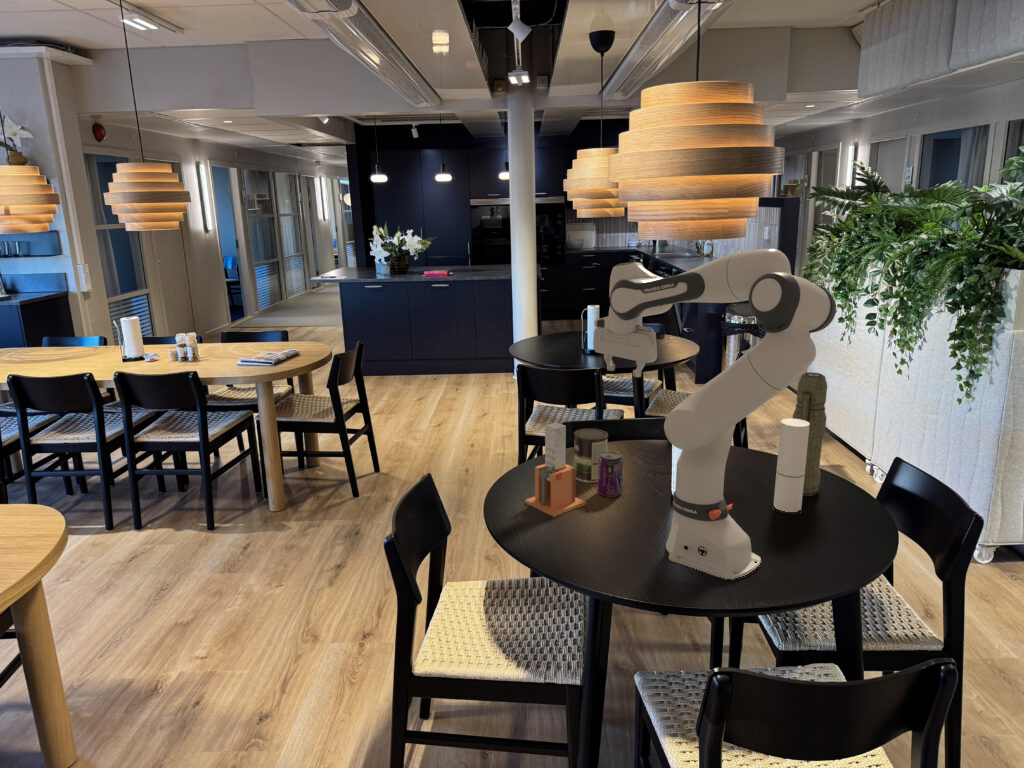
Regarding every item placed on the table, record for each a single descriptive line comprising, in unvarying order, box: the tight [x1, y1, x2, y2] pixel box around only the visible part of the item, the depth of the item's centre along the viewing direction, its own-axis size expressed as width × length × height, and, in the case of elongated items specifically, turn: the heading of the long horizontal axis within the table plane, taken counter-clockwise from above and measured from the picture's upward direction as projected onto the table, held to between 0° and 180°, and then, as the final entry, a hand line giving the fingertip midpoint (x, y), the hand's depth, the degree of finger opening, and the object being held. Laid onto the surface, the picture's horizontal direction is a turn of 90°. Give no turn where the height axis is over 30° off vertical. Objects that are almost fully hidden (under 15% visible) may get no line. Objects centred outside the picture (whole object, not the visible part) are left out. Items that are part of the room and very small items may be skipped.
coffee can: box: [573, 427, 609, 484], centre depth 218 cm, size 10×10×14 cm
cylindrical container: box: [773, 417, 810, 512], centre depth 192 cm, size 7×7×25 cm
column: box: [544, 422, 567, 482], centre depth 196 cm, size 4×5×16 cm
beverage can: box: [597, 450, 624, 498], centre depth 205 cm, size 7×7×12 cm
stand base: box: [524, 463, 586, 518], centre depth 199 cm, size 12×12×11 cm
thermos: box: [791, 372, 828, 493], centre depth 203 cm, size 9×12×35 cm
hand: (623, 373), depth 193 cm, fingers open, 8 cm apart
